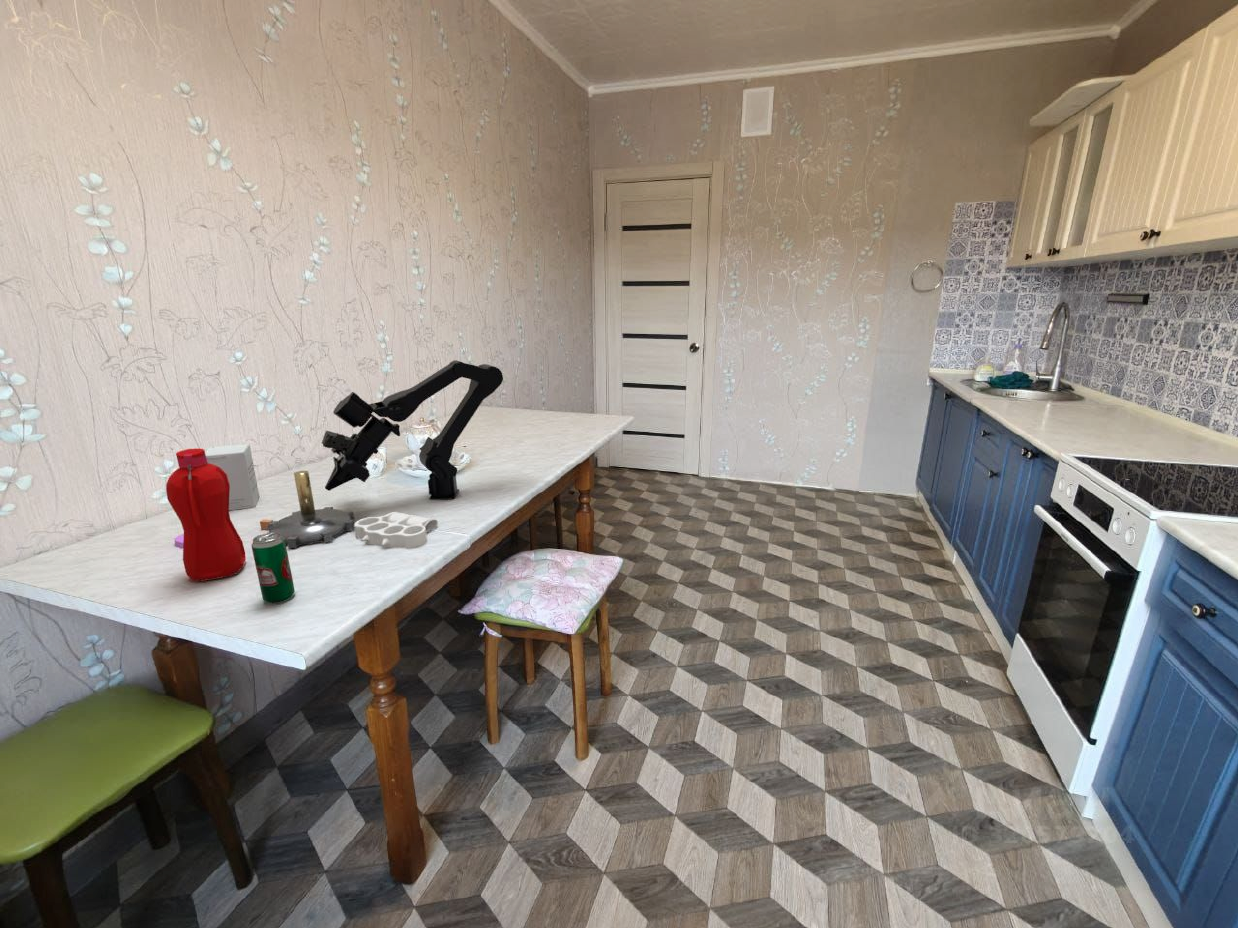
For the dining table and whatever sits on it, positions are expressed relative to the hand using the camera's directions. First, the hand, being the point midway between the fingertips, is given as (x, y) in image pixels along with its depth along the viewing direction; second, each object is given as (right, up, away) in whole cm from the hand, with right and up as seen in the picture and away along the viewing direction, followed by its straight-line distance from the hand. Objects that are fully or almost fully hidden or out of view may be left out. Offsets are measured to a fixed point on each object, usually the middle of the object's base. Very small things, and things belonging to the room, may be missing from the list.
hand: (326, 489), depth 137 cm
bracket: (-21, -12, -12) cm, 27 cm away
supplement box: (-28, -5, +10) cm, 31 cm away
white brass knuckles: (+20, -11, -8) cm, 24 cm away
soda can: (+9, -18, -34) cm, 39 cm away
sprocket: (0, -9, -6) cm, 11 cm away
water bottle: (-9, -16, -25) cm, 31 cm away
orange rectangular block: (-11, -9, -4) cm, 15 cm away
